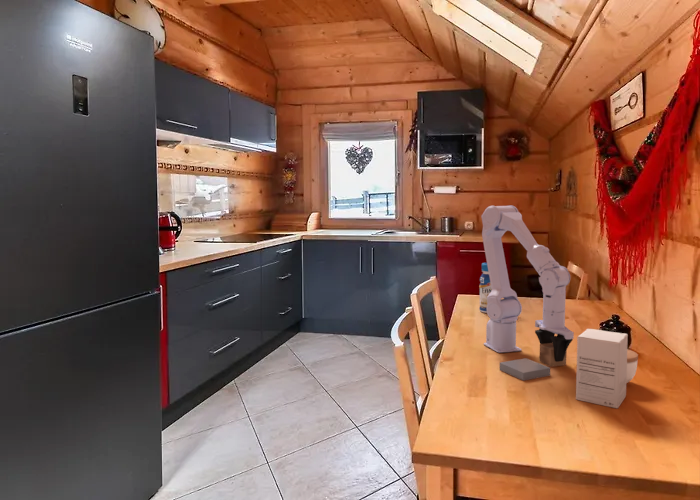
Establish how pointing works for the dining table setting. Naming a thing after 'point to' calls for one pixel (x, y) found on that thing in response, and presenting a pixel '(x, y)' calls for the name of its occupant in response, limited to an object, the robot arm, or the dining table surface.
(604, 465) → the dining table surface
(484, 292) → the beverage bottle
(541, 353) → the walnut block
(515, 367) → the plate
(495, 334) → the robot arm
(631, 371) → the lidded jar
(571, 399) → the dining table surface
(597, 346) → the supplement box
